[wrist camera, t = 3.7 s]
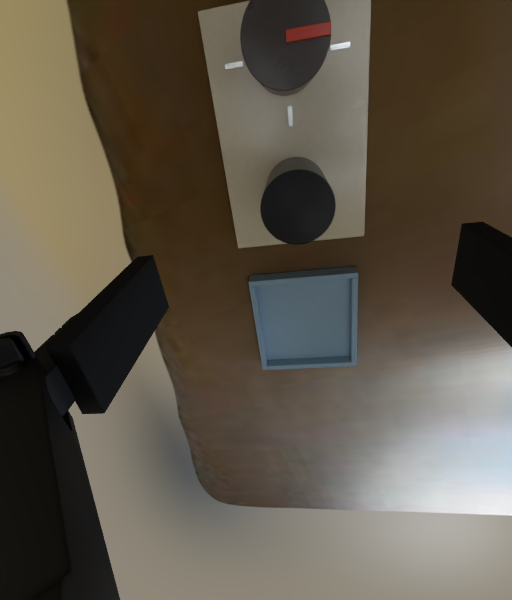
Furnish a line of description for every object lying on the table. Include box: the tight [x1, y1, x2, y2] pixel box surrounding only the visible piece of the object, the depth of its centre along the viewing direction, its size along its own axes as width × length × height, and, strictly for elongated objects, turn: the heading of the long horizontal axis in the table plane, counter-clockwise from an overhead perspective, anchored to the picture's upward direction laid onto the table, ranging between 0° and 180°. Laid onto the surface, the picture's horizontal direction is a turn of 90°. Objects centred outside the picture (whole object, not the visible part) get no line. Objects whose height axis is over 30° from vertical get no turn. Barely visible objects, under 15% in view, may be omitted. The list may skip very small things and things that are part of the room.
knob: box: [240, 0, 331, 96], centre depth 21 cm, size 5×5×7 cm
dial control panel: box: [198, 0, 371, 248], centre depth 27 cm, size 19×12×2 cm, turn 8°
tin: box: [260, 157, 336, 245], centre depth 26 cm, size 5×5×7 cm
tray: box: [248, 266, 358, 370], centre depth 37 cm, size 12×11×2 cm
